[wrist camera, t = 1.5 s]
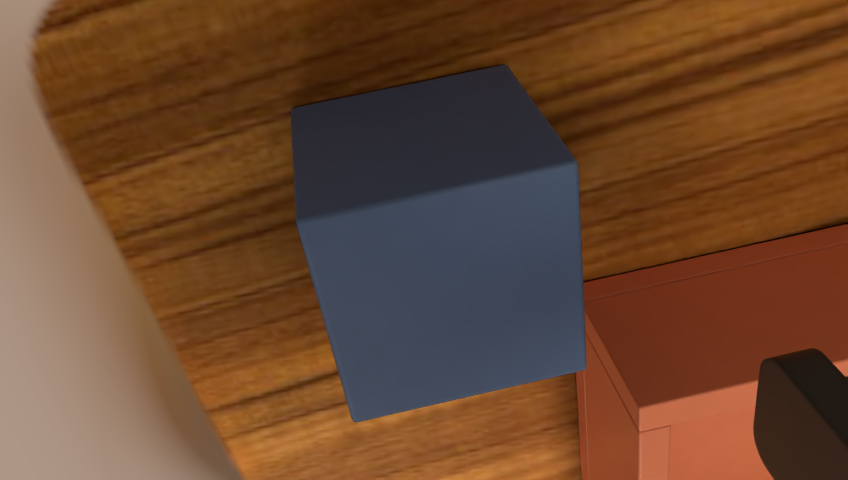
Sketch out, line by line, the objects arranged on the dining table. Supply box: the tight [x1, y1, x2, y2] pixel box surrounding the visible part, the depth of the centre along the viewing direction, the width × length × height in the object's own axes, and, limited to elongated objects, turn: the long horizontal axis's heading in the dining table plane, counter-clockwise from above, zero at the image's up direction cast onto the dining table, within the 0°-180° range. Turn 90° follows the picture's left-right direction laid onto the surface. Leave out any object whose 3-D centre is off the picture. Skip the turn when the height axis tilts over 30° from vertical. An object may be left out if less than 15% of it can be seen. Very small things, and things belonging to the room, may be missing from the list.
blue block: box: [291, 65, 587, 422], centre depth 17 cm, size 5×5×5 cm
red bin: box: [576, 224, 848, 480], centre depth 23 cm, size 14×14×5 cm
